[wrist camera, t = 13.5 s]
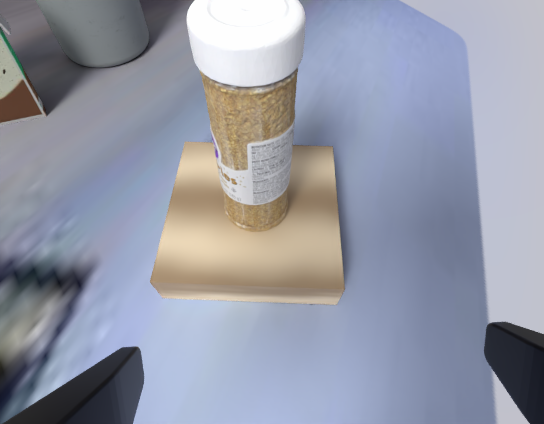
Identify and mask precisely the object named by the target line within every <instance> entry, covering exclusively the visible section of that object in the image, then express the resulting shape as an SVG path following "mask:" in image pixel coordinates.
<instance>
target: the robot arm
mask: <svg viewBox="0 0 544 424" xmlns="http://www.w3.org/2000/svg"><path fill="white" fill-rule="evenodd" d="M484 354H485V358H486V360H487V362H488V363H489V365H490V366H491V368H492V369H493V371H494V372H495V374H496V375H497V377H498V378H499V380H500V381H501V383H502V384H503V386H504V387H505V389H506V390H507V392H508V393H509V395H510V396H511V398H512V399H513V401H514V402H515V404H516V405H517V407H518V408H519V409H520V411H521V412H522V414H523V415H524V416H525V418H526V419H527V421H528V422H529V423H530V424H544V334H541V333H538V332H535V331H532V330H529V329H526V328H523V327H520V326H517V325H514V324H511V323H508V322H493V323H489V324H488V325H487V328H486V336H485V346H484ZM143 384H144V371H143V364H142V357H141V351H140V349H139V348H138V347H123V348H120V349H119V350H117V351H116V352H114V353H112V354H111V355H109V356H108V357H106V358H105V359H103V360H102V361H100V362H98V363H97V364H95V365H94V366H92V367H91V368H89V369H87V370H86V371H84V372H83V373H81V374H80V375H78V376H76V377H75V378H73V379H72V380H70V381H69V382H67V383H66V384H64V385H62V386H61V387H59V388H58V389H56V390H55V391H53V392H51V393H50V394H48V395H47V396H45V397H44V398H42V399H40V400H39V401H37V402H36V403H34V404H33V405H31V406H29V407H28V408H26V409H25V410H23V411H22V412H20V413H19V414H17V415H15V416H14V417H12V418H11V419H9V420H8V421H6V422H4V423H3V424H133V421H134V417H135V414H136V410H137V407H138V403H139V399H140V396H141V392H142V388H143Z"/></svg>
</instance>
